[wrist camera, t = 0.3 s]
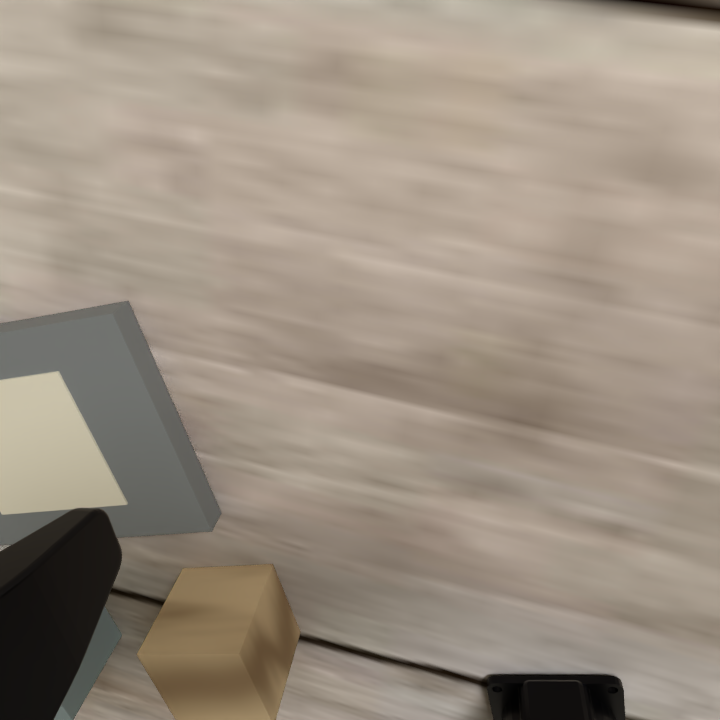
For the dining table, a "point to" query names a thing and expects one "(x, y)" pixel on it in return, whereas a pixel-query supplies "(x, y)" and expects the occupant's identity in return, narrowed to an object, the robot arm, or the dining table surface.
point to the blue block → (90, 666)
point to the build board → (93, 429)
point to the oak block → (222, 644)
